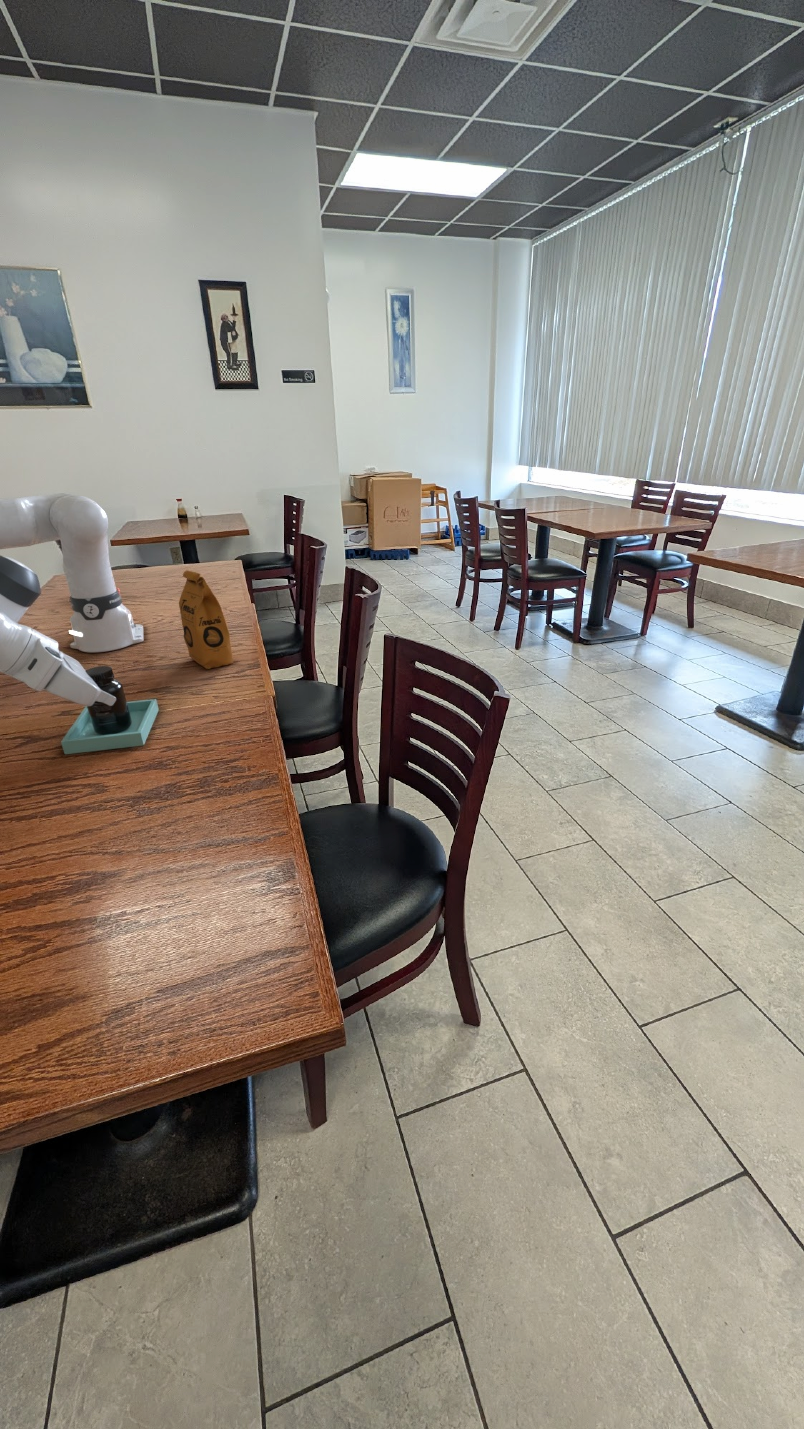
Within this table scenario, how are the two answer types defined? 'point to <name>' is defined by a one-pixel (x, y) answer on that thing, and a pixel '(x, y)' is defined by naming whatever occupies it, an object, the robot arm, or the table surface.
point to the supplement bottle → (104, 715)
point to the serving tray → (88, 740)
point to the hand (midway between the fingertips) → (108, 694)
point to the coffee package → (204, 623)
